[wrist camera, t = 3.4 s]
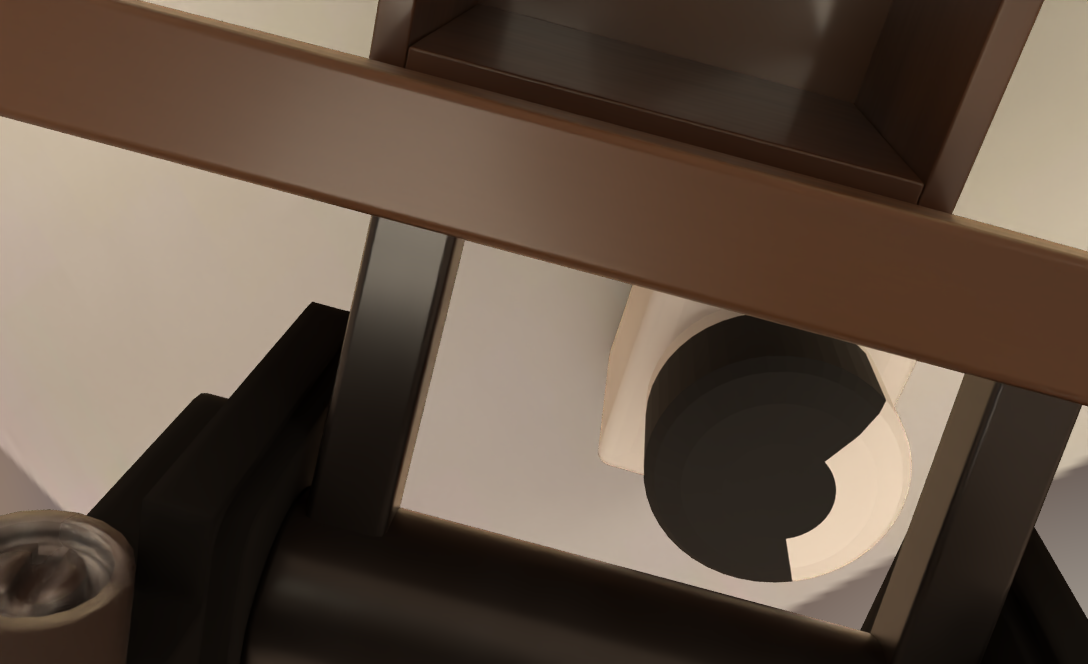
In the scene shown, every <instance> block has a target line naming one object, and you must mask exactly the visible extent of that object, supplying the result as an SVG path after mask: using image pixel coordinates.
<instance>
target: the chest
mask: <svg viewBox="0 0 1088 664" xmlns="http://www.w3.org/2000/svg"><path fill="white" fill-rule="evenodd" d="M1043 2H1044V0H379V1H378V7H377V13H376V19H375V25H374V31H373V38H372V44H371V50H370V56H369V59H372V60H375V61H379V62H383V63H387V64H390V65H394V66H398V67H402V68H405V69H409V70H413V71H417V72H420V73H424V74H428V75H432V76H435V77H439V78H443V79H447V80H450V81H454V82H458V83H462V84H465V85H469V86H473V87H477V88H480V89H484V90H488V91H492V92H495V93H499V94H503V95H507V96H510V97H514V98H518V99H522V100H525V101H529V102H533V103H537V104H540V105H544V106H548V107H552V108H555V109H559V110H563V111H567V112H570V113H574V114H578V115H582V116H585V117H589V118H593V119H597V120H600V121H604V122H608V123H612V124H615V125H619V126H623V127H627V128H630V129H634V130H638V131H642V132H645V133H649V134H653V135H657V136H660V137H664V138H668V139H672V140H675V141H679V142H683V143H687V144H690V145H694V146H698V147H702V148H705V149H709V150H713V151H717V152H720V153H724V154H728V155H732V156H735V157H739V158H743V159H747V160H750V161H754V162H758V163H762V164H765V165H769V166H773V167H777V168H780V169H784V170H788V171H792V172H795V173H799V174H803V175H807V176H810V177H814V178H818V179H822V180H825V181H829V182H833V183H837V184H840V185H844V186H848V187H852V188H855V189H859V190H863V191H867V192H870V193H874V194H878V195H882V196H885V197H889V198H893V199H897V200H900V201H904V202H908V203H912V204H915V205H919V206H923V207H927V208H930V209H934V210H938V211H942V212H945V213H949V214H952V213H953V211H954V208H955V206H956V204H957V201H958V199H959V197H960V194H961V192H962V190H963V187H964V185H965V183H966V180H967V178H968V176H969V173H970V171H971V169H972V166H973V164H974V162H975V159H976V157H977V155H978V153H979V150H980V148H981V146H982V143H983V141H984V139H985V136H986V134H987V132H988V129H989V127H990V125H991V122H992V120H993V118H994V115H995V113H996V111H997V108H998V106H999V104H1000V101H1001V99H1002V97H1003V94H1004V92H1005V90H1006V88H1007V85H1008V83H1009V81H1010V78H1011V76H1012V74H1013V71H1014V69H1015V67H1016V64H1017V62H1018V60H1019V57H1020V55H1021V53H1022V50H1023V48H1024V46H1025V43H1026V41H1027V39H1028V36H1029V34H1030V32H1031V30H1032V27H1033V25H1034V23H1035V20H1036V18H1037V16H1038V13H1039V11H1040V9H1041V6H1042V4H1043Z"/></svg>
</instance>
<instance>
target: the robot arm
mask: <svg viewBox="0 0 1088 664" xmlns="http://www.w3.org/2000/svg"><path fill="white" fill-rule="evenodd" d="M349 314H350V312H349V311H345V310H341V309H337V308H334V307H330V306H326V305H322V304H319V303H315V302H312V303H311V304H309V305H308V307H307V308H306V309H305V310H304V311H303V312H302V314H301V315H300V316H299V317H298V318H297V319H296V321H295V322H294V323H293V324H292V325H291V327H290V328H289V329H288V330H287V331H286V332H285V334H284V335H283V336H282V337H281V338H280V339H279V341H278V342H277V343H276V344H275V345H274V346H273V348H272V349H271V350H270V351H269V352H268V353H267V355H266V356H265V357H264V358H263V359H262V360H261V362H260V363H259V364H258V365H257V366H256V367H255V369H254V370H253V371H252V372H251V373H250V374H249V376H248V377H247V378H246V379H245V380H244V382H243V383H242V384H241V385H240V386H239V387H238V389H237V390H236V391H235V392H234V393H233V394H232V396H231V397H230V398H229V399H227V398H223V397H220V396H216V395H212V394H208V393H201V394H200V395H198V396H197V397H196V398H195V399H193V400H192V402H191V403H190V404H189V405H188V406H187V407H186V408H185V409H184V410H183V411H182V412H181V413H180V415H179V416H178V417H177V418H176V419H175V420H174V421H173V422H172V423H171V424H170V425H169V426H168V428H167V429H166V430H165V431H164V432H163V433H162V434H161V435H160V436H159V437H158V438H157V439H156V441H155V442H154V443H153V444H152V445H151V446H150V447H149V448H148V449H147V450H146V451H145V452H144V454H143V455H142V456H141V457H140V458H139V459H138V460H137V461H136V462H135V463H134V464H133V465H132V467H131V468H130V469H129V470H128V471H127V472H126V473H125V474H124V475H123V476H122V477H121V478H120V480H119V481H118V482H117V483H116V484H115V485H114V486H113V487H112V488H111V489H110V490H109V492H108V493H107V494H106V495H105V496H104V497H103V498H102V499H101V500H100V501H99V502H98V503H97V505H96V506H95V507H94V508H93V509H92V510H91V511H90V512H89V513H88V514H87V515H84V514H80V513H76V512H67V511H59V510H50V509H48V510H32V511H19V512H14V513H10V514H6V515H2V516H0V664H241V657H242V650H243V643H244V638H245V633H246V629H247V624H248V620H249V616H250V612H251V609H252V605H253V601H254V598H255V595H256V591H257V588H258V585H259V582H260V579H261V576H262V573H263V570H264V567H265V564H266V561H267V559H268V556H269V553H270V551H271V548H272V546H273V543H274V541H275V539H276V536H277V534H278V532H279V529H280V527H281V525H282V523H283V521H284V519H285V517H286V515H287V513H288V511H289V509H290V508H291V506H292V504H293V503H294V501H295V500H296V498H297V497H298V496H299V494H300V493H301V492H302V491H303V490H304V489H305V488H306V487H308V486H311V485H312V480H313V476H314V471H315V467H316V462H317V458H318V453H319V449H320V444H321V440H322V435H323V431H324V426H325V422H326V417H327V413H328V408H329V404H330V399H331V395H332V390H333V386H334V381H335V377H336V372H337V368H338V363H339V359H340V354H341V350H342V345H343V341H344V336H345V332H346V327H347V323H348V318H349ZM905 537H906V536H905ZM904 539H905V538H904ZM903 542H904V540H903ZM903 542H902V544H901V546H900V548H899V550H898V552H897V554H896V557H895V559H894V561H893V563H892V565H891V567H890V569H889V571H888V573H887V575H886V578H885V580H884V582H883V584H882V586H881V588H880V590H879V592H878V594H877V596H876V598H875V601H874V603H873V605H872V607H871V609H870V611H869V613H868V615H867V617H866V619H865V622H864V624H863V626H862V628H861V630H860V631H864V632H868V633H871V630H872V627H873V625H874V622H875V619H876V616H877V614H878V611H879V608H880V605H881V603H882V600H883V597H884V594H885V592H886V589H887V586H888V583H889V581H890V578H891V575H892V572H893V570H894V567H895V564H896V561H897V559H898V556H899V553H900V550H901V548H902V545H903ZM980 664H1088V619H1087V617H1086V615H1085V614H1084V612H1083V611H1082V608H1081V607H1080V605H1079V603H1078V602H1077V600H1076V598H1075V596H1074V595H1073V593H1072V592H1071V589H1070V588H1069V586H1068V584H1067V583H1066V581H1065V579H1064V577H1063V576H1062V574H1061V572H1060V571H1059V569H1058V567H1057V565H1056V564H1055V562H1054V560H1053V559H1052V557H1051V555H1050V553H1049V552H1048V550H1047V548H1046V546H1045V545H1044V543H1043V541H1042V539H1041V538H1040V536H1039V534H1038V533H1037V531H1036V529H1035V528H1034V529H1033V531H1032V534H1031V536H1030V539H1029V541H1028V544H1027V546H1026V549H1025V551H1024V554H1023V557H1022V559H1021V562H1020V564H1019V567H1018V569H1017V572H1016V574H1015V577H1014V579H1013V582H1012V585H1011V587H1010V590H1009V592H1008V595H1007V597H1006V600H1005V602H1004V605H1003V607H1002V610H1001V613H1000V615H999V618H998V620H997V623H996V625H995V628H994V630H993V633H992V635H991V638H990V641H989V643H988V646H987V648H986V651H985V653H984V656H983V658H982V661H981V663H980Z"/></svg>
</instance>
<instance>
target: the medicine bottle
mask: <svg viewBox="0 0 1088 664" xmlns="http://www.w3.org/2000/svg"><path fill="white" fill-rule="evenodd" d="M915 363H916V360H913V359H909V358H905V357H902V356H898V355H894V354H890V353H887V352H883V351H879V350H875V349H872V348H868V347H864V346H860V345H857V344H853V343H849V342H845V341H842V340H838V339H834V338H830V337H827V336H823V335H819V334H815V333H812V332H808V331H804V330H800V329H797V328H793V327H789V326H785V325H782V324H778V323H774V322H770V321H767V320H763V319H759V318H755V317H752V316H748V315H744V314H740V313H737V312H733V311H729V310H725V309H722V308H718V307H714V306H710V305H707V304H703V303H699V302H695V301H692V300H688V299H684V298H680V297H677V296H673V295H669V294H666V293H662V292H658V291H654V290H651V289H647V288H643V287H639V286H636V285H632V288H631V291H630V294H629V297H628V300H627V303H626V306H625V309H624V312H623V315H622V318H621V321H620V324H619V327H618V330H617V333H616V336H615V339H614V342H613V345H612V348H611V351H610V354H609V363H608V371H607V380H606V388H605V397H604V405H603V414H602V422H601V431H600V439H599V448H598V454H599V457H600V458H601V460H602V462H604V463H606V464H607V465H611V466H614V467H618V468H621V469H624V470H628V471H631V472H635V473H638V474H641V475H644V484H645V490H646V495H647V498H648V501H649V504H650V507H651V510H652V512H653V514H654V516H655V518H656V520H657V521H658V523H659V525H660V526H661V528H662V529H663V530H664V532H665V533H666V534H667V536H668V537H669V538H670V539H671V540H672V541H673V542H674V543H675V544H676V545H677V546H678V547H679V548H680V549H681V550H682V551H684V552H685V553H686V554H688V555H689V556H690V557H691V558H693V559H694V560H696V561H698V562H700V563H701V564H703V565H705V566H706V567H709V568H711V569H713V570H716V571H718V572H720V573H723V574H726V575H729V576H733V577H736V578H740V579H745V580H751V581H758V582H791V581H798V580H804V579H809V578H813V577H816V576H820V575H823V574H827V573H829V572H832V571H834V570H836V569H839V568H841V567H843V566H845V565H847V564H849V563H850V562H852V561H854V560H856V559H857V558H859V557H860V556H862V555H863V554H864V553H865V552H867V551H868V550H869V549H871V548H872V547H873V546H874V545H875V544H876V543H877V542H878V541H879V540H880V539H881V538H882V537H883V536H884V535H885V534H886V533H887V531H888V530H889V529H890V527H891V526H892V525H893V523H894V522H895V520H896V519H897V517H898V515H899V513H900V511H901V510H902V508H903V505H904V502H905V500H906V497H907V494H908V490H909V485H910V480H911V462H912V460H911V453H910V446H909V442H908V439H907V436H906V433H905V430H904V427H903V425H902V423H901V421H900V418H899V416H898V414H897V412H896V410H895V405H896V403H897V401H898V399H899V397H900V395H901V392H902V390H903V388H904V386H905V384H906V382H907V380H908V378H909V376H910V374H911V372H912V370H913V367H914V365H915Z"/></svg>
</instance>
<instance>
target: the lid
mask: <svg viewBox="0 0 1088 664" xmlns="http://www.w3.org/2000/svg"><path fill="white" fill-rule="evenodd" d="M0 116H2V117H6V118H10V119H14V120H17V121H21V122H25V123H29V124H32V125H36V126H40V127H44V128H47V129H51V130H55V131H59V132H62V133H66V134H70V135H74V136H77V137H81V138H85V139H89V140H92V141H96V142H100V143H104V144H107V145H111V146H115V147H119V148H122V149H126V150H130V151H134V152H137V153H141V154H145V155H149V156H152V157H156V158H160V159H164V160H167V161H171V162H175V163H179V164H182V165H186V166H190V167H194V168H197V169H201V170H205V171H208V172H212V173H216V174H220V175H223V176H227V177H231V178H235V179H238V180H242V181H246V182H250V183H253V184H257V185H261V186H265V187H268V188H272V189H276V190H280V191H283V192H287V193H291V194H295V195H298V196H302V197H306V198H310V199H313V200H317V201H321V202H325V203H328V204H332V205H336V206H340V207H343V208H347V209H351V210H355V211H358V212H362V213H366V214H370V215H371V219H370V224H369V228H368V233H367V237H366V242H365V246H364V251H363V255H362V260H361V264H360V269H359V273H358V278H357V282H356V287H355V291H354V296H353V300H352V305H351V309H350V314H349V318H348V323H347V327H346V332H345V336H344V341H343V345H342V350H341V354H340V359H339V363H338V368H337V372H336V377H335V381H334V386H333V390H332V395H331V399H330V404H329V408H328V413H327V417H326V422H325V426H324V431H323V435H322V440H321V444H320V449H319V453H318V458H317V462H316V467H315V471H314V476H313V480H312V485H311V486H308V487H306V488H305V489H304V490H303V491H302V492H301V493H300V494H299V496H298V497H297V498H296V500H295V501H294V503H293V504H292V506H291V508H290V509H289V511H288V513H287V515H286V517H285V519H284V521H283V523H282V525H281V527H280V529H279V532H278V534H277V536H276V539H275V541H274V543H273V546H272V548H271V551H270V553H269V556H268V559H267V561H266V564H265V567H264V570H263V573H262V576H261V579H260V582H259V585H258V588H257V591H256V595H255V598H254V601H253V605H252V609H251V612H250V616H249V620H248V624H247V629H246V633H245V638H244V643H243V650H242V657H241V664H980V663H981V661H982V658H983V656H984V653H985V651H986V648H987V646H988V643H989V641H990V638H991V635H992V633H993V630H994V628H995V625H996V623H997V620H998V618H999V615H1000V613H1001V610H1002V607H1003V605H1004V602H1005V600H1006V597H1007V595H1008V592H1009V590H1010V587H1011V585H1012V582H1013V579H1014V577H1015V574H1016V572H1017V569H1018V567H1019V564H1020V562H1021V559H1022V557H1023V554H1024V551H1025V549H1026V546H1027V544H1028V541H1029V539H1030V536H1031V534H1032V531H1033V529H1034V526H1035V523H1036V521H1037V518H1038V516H1039V513H1040V511H1041V508H1042V506H1043V503H1044V500H1045V497H1046V495H1047V493H1048V490H1049V488H1050V485H1051V483H1052V480H1053V478H1054V475H1055V473H1056V470H1057V468H1058V465H1059V462H1060V460H1061V457H1062V455H1063V452H1064V450H1065V447H1066V445H1067V442H1068V440H1069V437H1070V434H1071V432H1072V429H1073V427H1074V424H1075V422H1076V419H1077V417H1078V414H1079V412H1080V409H1081V407H1082V405H1085V406H1088V251H1084V250H1081V249H1077V248H1073V247H1070V246H1066V245H1062V244H1059V243H1055V242H1051V241H1048V240H1044V239H1040V238H1037V237H1033V236H1030V235H1026V234H1022V233H1019V232H1015V231H1011V230H1008V229H1004V228H1000V227H997V226H993V225H989V224H986V223H982V222H979V221H975V220H971V219H968V218H964V217H960V216H957V215H953V214H949V213H945V212H942V211H938V210H934V209H930V208H927V207H923V206H919V205H915V204H912V203H908V202H904V201H900V200H897V199H893V198H889V197H885V196H882V195H878V194H874V193H870V192H867V191H863V190H859V189H855V188H852V187H848V186H844V185H840V184H837V183H833V182H829V181H825V180H822V179H818V178H814V177H810V176H807V175H803V174H799V173H795V172H792V171H788V170H784V169H780V168H777V167H773V166H769V165H765V164H762V163H758V162H754V161H750V160H747V159H743V158H739V157H735V156H732V155H728V154H724V153H720V152H717V151H713V150H709V149H705V148H702V147H698V146H694V145H690V144H687V143H683V142H679V141H675V140H672V139H668V138H664V137H660V136H657V135H653V134H649V133H645V132H642V131H638V130H634V129H630V128H627V127H623V126H619V125H615V124H612V123H608V122H604V121H600V120H597V119H593V118H589V117H585V116H582V115H578V114H574V113H570V112H567V111H563V110H559V109H555V108H552V107H548V106H544V105H540V104H537V103H533V102H529V101H525V100H522V99H518V98H514V97H510V96H507V95H503V94H499V93H495V92H492V91H488V90H484V89H480V88H477V87H473V86H469V85H465V84H462V83H458V82H454V81H450V80H447V79H443V78H439V77H435V76H432V75H428V74H424V73H420V72H417V71H413V70H409V69H405V68H402V67H398V66H394V65H390V64H387V63H383V62H379V61H375V60H372V59H368V58H364V57H360V56H356V55H352V54H348V53H344V52H340V51H337V50H333V49H329V48H325V47H321V46H317V45H313V44H309V43H305V42H301V41H297V40H293V39H289V38H286V37H282V36H278V35H274V34H270V33H266V32H262V31H258V30H254V29H250V28H246V27H242V26H238V25H235V24H231V23H227V22H223V21H219V20H215V19H211V18H207V17H203V16H199V15H195V14H191V13H187V12H184V11H180V10H176V9H172V8H168V7H164V6H160V5H156V4H152V3H148V2H144V1H140V0H0ZM465 240H467V241H471V242H474V243H478V244H482V245H486V246H489V247H493V248H497V249H501V250H504V251H508V252H512V253H516V254H519V255H523V256H527V257H531V258H534V259H538V260H542V261H546V262H549V263H553V264H557V265H561V266H564V267H568V268H572V269H576V270H579V271H583V272H587V273H591V274H594V275H598V276H602V277H606V278H609V279H613V280H617V281H621V282H624V283H628V284H632V285H636V286H639V287H643V288H647V289H651V290H654V291H658V292H662V293H666V294H669V295H673V296H677V297H680V298H684V299H688V300H692V301H695V302H699V303H703V304H707V305H710V306H714V307H718V308H722V309H725V310H729V311H733V312H737V313H740V314H744V315H748V316H752V317H755V318H759V319H763V320H767V321H770V322H774V323H778V324H782V325H785V326H789V327H793V328H797V329H800V330H804V331H808V332H812V333H815V334H819V335H823V336H827V337H830V338H834V339H838V340H842V341H845V342H849V343H853V344H857V345H860V346H864V347H868V348H872V349H875V350H879V351H883V352H887V353H890V354H894V355H898V356H902V357H905V358H909V359H913V360H916V361H920V362H924V363H928V364H931V365H935V366H939V367H943V368H946V369H950V370H954V371H958V372H961V373H965V375H964V377H963V380H962V383H961V386H960V388H959V391H958V394H957V397H956V399H955V402H954V405H953V408H952V410H951V413H950V416H949V419H948V421H947V424H946V427H945V430H944V432H943V435H942V438H941V441H940V443H939V446H938V449H937V452H936V454H935V457H934V460H933V462H932V465H931V468H930V471H929V473H928V476H927V479H926V482H925V484H924V487H923V490H922V493H921V495H920V498H919V501H918V504H917V506H916V509H915V512H914V515H913V517H912V520H911V523H910V526H909V528H908V531H907V534H906V537H905V539H904V542H903V545H902V548H901V550H900V553H899V556H898V559H897V561H896V564H895V567H894V570H893V572H892V575H891V578H890V581H889V583H888V586H887V589H886V592H885V594H884V597H883V600H882V603H881V605H880V608H879V611H878V614H877V616H876V619H875V622H874V625H873V627H872V630H871V633H868V632H864V631H860V630H856V629H852V628H849V627H845V626H841V625H838V624H834V623H830V622H826V621H823V620H819V619H815V618H811V617H808V616H804V615H800V614H797V613H793V612H789V611H785V610H782V609H778V608H774V607H770V606H767V605H763V604H759V603H755V602H752V601H748V600H744V599H740V598H737V597H733V596H729V595H725V594H722V593H718V592H714V591H711V590H707V589H703V588H699V587H696V586H692V585H688V584H684V583H681V582H677V581H673V580H669V579H666V578H662V577H658V576H654V575H651V574H647V573H643V572H640V571H636V570H632V569H628V568H625V567H621V566H617V565H613V564H610V563H606V562H602V561H598V560H595V559H591V558H587V557H583V556H580V555H576V554H572V553H569V552H565V551H561V550H557V549H554V548H550V547H546V546H542V545H539V544H535V543H531V542H527V541H524V540H520V539H516V538H512V537H509V536H505V535H501V534H497V533H494V532H490V531H486V530H483V529H479V528H475V527H471V526H468V525H464V524H460V523H456V522H453V521H449V520H445V519H441V518H438V517H434V516H430V515H426V514H423V513H419V512H415V511H412V510H408V509H404V508H400V504H401V500H402V496H403V492H404V488H405V484H406V480H407V476H408V472H409V468H410V463H411V459H412V455H413V451H414V447H415V443H416V439H417V435H418V431H419V427H420V422H421V418H422V414H423V410H424V406H425V402H426V398H427V394H428V390H429V386H430V382H431V377H432V373H433V369H434V365H435V361H436V357H437V353H438V349H439V345H440V341H441V336H442V332H443V328H444V324H445V320H446V316H447V312H448V308H449V304H450V300H451V295H452V291H453V287H454V283H455V279H456V275H457V271H458V267H459V263H460V259H461V254H462V250H463V246H464V242H465Z"/></svg>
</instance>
